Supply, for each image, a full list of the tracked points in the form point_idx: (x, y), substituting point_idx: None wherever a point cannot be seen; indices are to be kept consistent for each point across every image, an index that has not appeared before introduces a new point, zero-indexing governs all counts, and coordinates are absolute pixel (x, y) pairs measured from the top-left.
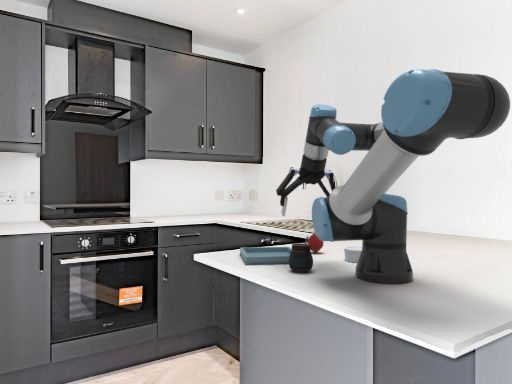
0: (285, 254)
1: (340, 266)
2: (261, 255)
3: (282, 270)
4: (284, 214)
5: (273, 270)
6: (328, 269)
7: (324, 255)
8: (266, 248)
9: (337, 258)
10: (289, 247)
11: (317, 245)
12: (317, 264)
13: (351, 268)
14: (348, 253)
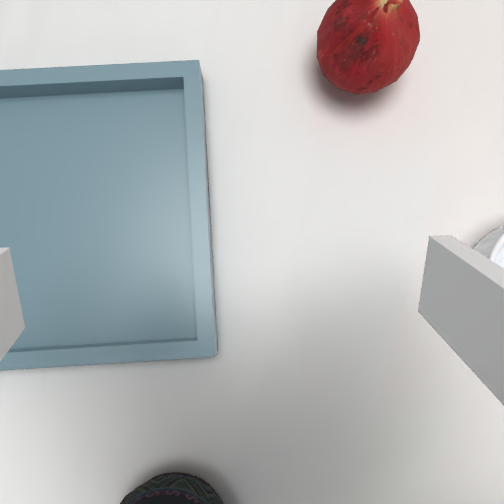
0: (165, 165)
1: (394, 421)
2: (29, 188)
3: (95, 496)
4: (10, 340)
5: (52, 494)
6: (318, 485)
7: (385, 140)
8: (61, 84)
9: (433, 225)
10: (197, 86)
11: (366, 91)
12: (293, 369)
13: (435, 469)
14: None
